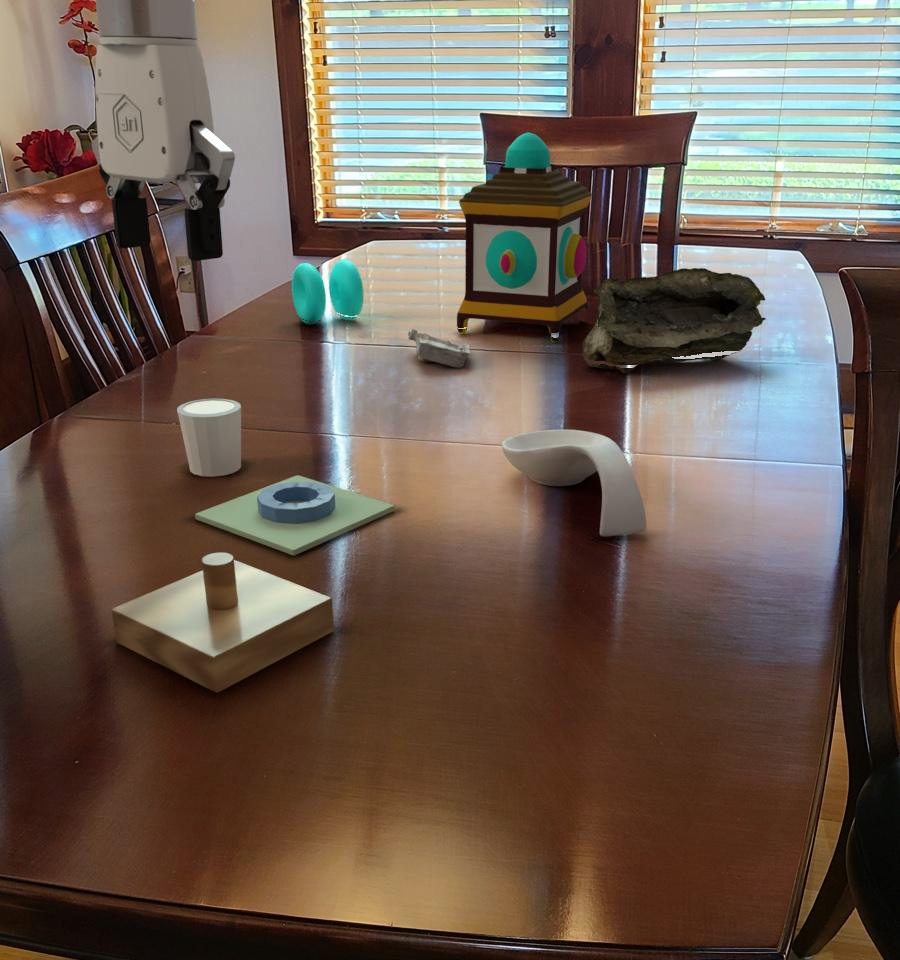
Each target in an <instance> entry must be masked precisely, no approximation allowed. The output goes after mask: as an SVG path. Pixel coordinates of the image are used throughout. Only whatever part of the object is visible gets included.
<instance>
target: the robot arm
mask: <svg viewBox="0 0 900 960" xmlns="http://www.w3.org/2000/svg"><path fill="white" fill-rule="evenodd" d="M95 8H96V17H97V25H98V34H99V43H100V44H97V46H96V56H95V71H94V73H95V75H94V76H95V77H94V78H95V79H94V85H95V86H94V87H95V88H94V89H95V90H94V91H95V93H94V94H95V115H96V130H97V136H96V137H95V138H94V139H93V140H92V142H91V150H92V152H93V154H94V157H95V160H96V162H97V165H98V166H99V167H98V172H99V175H100V177H101V178H102V180H103V181H104V183H105V185H106V187H105V191H106V195H107V197H108V199H110V200H111V207H112V216H113V225H114V234H115V243H116V246H117V248H119V249H133V248H140V247H149V246H150V244H151V241H152V240H151V230H150V220H149V211H148V202H147V197H145V196H141V194H142V192H143V190H144V187H145V185H146V183H147V182H149V183H159V184H169V183H172V182H174V181H175V182H176V184H177V186H178V188H179V189H180V192H181V194H182V195H183V197H184V199H185V201H186V202H187V204H188V206H189V208H183V210H184V213H183V215H184V225H185V239H186V249H187V257H188V259H189V260H190V261H193V262H200V261H207V260H214V259H220V258H222V256H223V254H224V251H223V237H222V222H221V221H222V220H221V210H220V209H221V208H223V207H224V206H225V202H226V201H225V196H226V194H227V193H228V191H229V189H230V187H231V180H230V178H231V176H232V173H233V172H232V171H233V168H234V165H235V160H236V156H235V153H234V152H235V151H233V150H232V149H231V148H230V147H229V146H227V144H225V143H224V142H223V141H222V140H221V139H220V138H218V137H217V136H216V135H215V129H214V128H215V127H214V118H213V110H212V104H211V96H210V90H209V85H208V78H207V73H206V69H205V64H204V60H203V55H202V51H201V47H200V46H199V40H198V39H199V37H198V24H197V11H196V10H197V9H196V0H95ZM196 184H199V185H200V186H199V188H198V187H197V186H196Z"/></svg>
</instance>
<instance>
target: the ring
mask: <svg viewBox="0 0 900 960" xmlns="http://www.w3.org/2000/svg"><path fill="white" fill-rule="evenodd" d="M295 500H300V501H309V502H304V503H297V504H291V503H284V502H288V501H295ZM257 503H258V511H259V513H260V514H261V516H262V517H263V518H265V519H268V520H271V521H273V522H278V523H295V524H297V523H304V522H311V521H316V520H319V519H321V518H324V517H326V516H328V515H330V514H331V513H332V512H333V510H334V509H335V494H334V492H333V491H332V490H331V488H330V487H328V486H325V485H322V484H319V483H315V482H298V481H297V482H290V483H282V484H277V485H274V486H271V487H269V488H266V489H264V490H262V492H261V493H260V494H259V495H258V496H257Z"/></svg>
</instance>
